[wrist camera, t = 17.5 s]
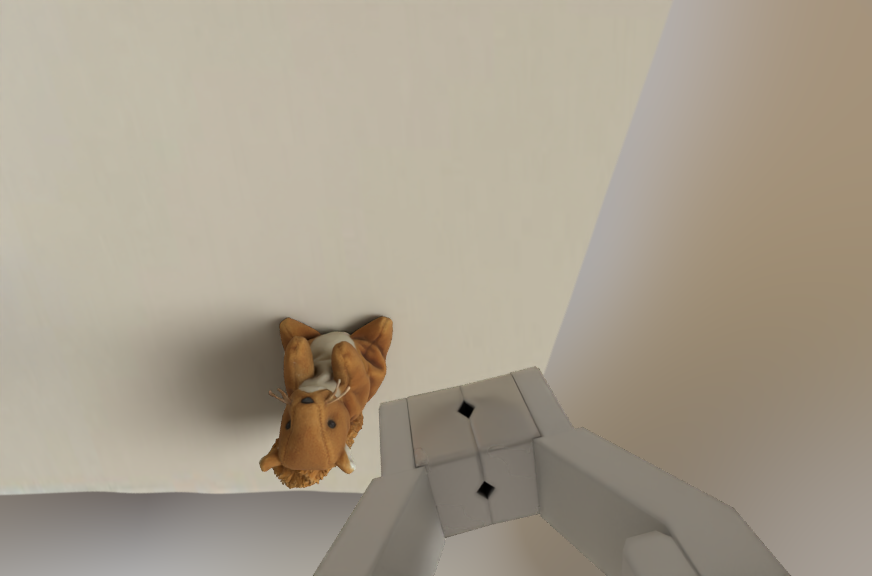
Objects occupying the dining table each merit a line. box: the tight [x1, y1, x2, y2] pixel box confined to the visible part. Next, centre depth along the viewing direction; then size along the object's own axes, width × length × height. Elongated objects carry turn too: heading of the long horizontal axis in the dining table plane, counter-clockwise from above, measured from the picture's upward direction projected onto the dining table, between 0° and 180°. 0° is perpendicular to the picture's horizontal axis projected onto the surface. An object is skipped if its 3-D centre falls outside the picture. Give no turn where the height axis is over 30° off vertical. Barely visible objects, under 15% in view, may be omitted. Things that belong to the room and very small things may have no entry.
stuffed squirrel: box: [259, 316, 393, 489], centre depth 36 cm, size 10×14×13 cm
